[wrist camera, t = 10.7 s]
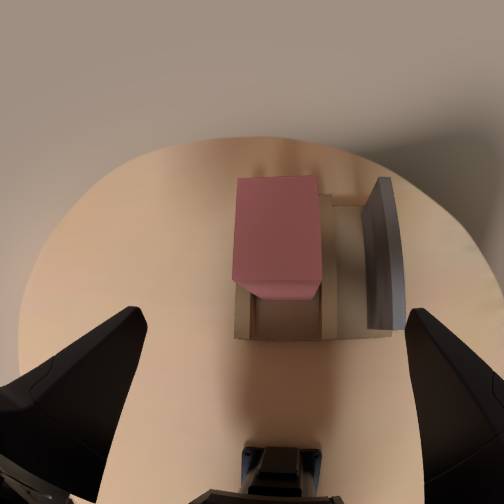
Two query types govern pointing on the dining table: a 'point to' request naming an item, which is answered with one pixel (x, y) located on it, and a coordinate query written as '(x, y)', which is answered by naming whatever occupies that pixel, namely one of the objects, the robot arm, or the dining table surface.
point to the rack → (341, 280)
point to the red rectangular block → (278, 237)
